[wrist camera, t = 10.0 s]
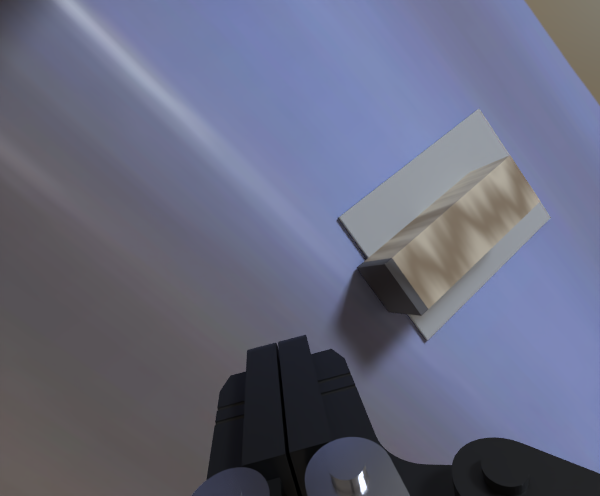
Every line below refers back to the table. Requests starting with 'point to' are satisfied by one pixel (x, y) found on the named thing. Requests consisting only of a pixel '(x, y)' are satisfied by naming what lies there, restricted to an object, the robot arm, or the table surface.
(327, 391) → the robot arm
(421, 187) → the grey mat
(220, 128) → the table surface
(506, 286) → the table surface
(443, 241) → the birch block
